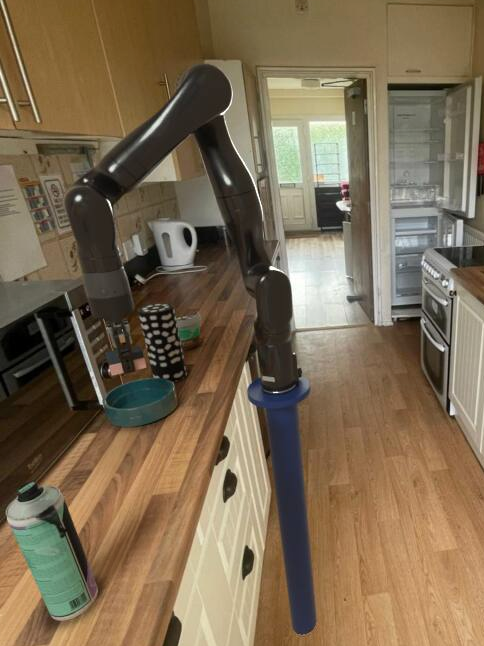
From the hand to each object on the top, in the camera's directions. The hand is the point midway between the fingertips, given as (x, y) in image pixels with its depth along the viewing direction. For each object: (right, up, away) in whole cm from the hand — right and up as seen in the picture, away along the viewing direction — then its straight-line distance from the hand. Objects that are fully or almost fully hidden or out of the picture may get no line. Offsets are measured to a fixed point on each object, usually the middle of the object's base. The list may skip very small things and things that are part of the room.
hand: (128, 368), depth 91 cm
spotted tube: (-4, -5, +27) cm, 27 cm away
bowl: (-3, -11, +11) cm, 15 cm away
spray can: (+13, -30, -33) cm, 46 cm away
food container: (-8, +3, +45) cm, 46 cm away
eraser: (0, 0, 0) cm, 0 cm away
